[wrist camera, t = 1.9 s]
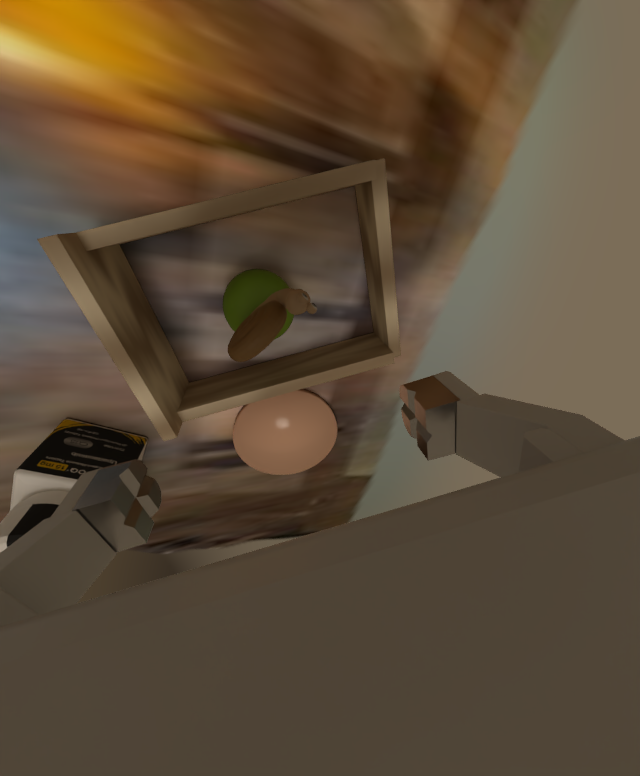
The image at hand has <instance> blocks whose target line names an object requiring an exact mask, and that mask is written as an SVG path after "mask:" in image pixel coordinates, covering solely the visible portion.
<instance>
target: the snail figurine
mask: <svg viewBox="0 0 640 776" xmlns="http://www.w3.org/2000/svg"><path fill="white" fill-rule="evenodd" d="M306 310H307V311H308V312H309V313H310V314H314V313H315V312H316V311H317V307H316V305H315V304H314V303H310V297H309V295H308V293H307V292H305V291H303V290H301V289H296V290H295V289H291V288H289V286H288V285H287V284H286V282H285V281H284V280H283V279H282V278H280V277H279V276H278V275H276V274H274V273H272V272H270V271H267V270H263V269H252V270H247V271H244V272H242V273H240V274H238V275H237V276H236V277H234V278H233V279H232V280H231V282H230V283H229V284H228V286H227V288H226V290H225V293H224V297H223V311H224V315H225V318H226V320H227V322H228V324H229V325H230V327H231V328H232V329H233V330H234V331H235V333H234V334H233V337H232V338H231V340H230V342H229V345H228V354H229V356H230V357H231V358H232V359H233V360H235V361H238V362H244V361H247V360H250V359H252V358H253V357H255V356H256V355H258V354H259V353H260V352H261V351H263V350H264V349H265V348H266V347H267V346H268V345H269V344H270V343H271V342H272V341H273V340H274V339H276V338H278V337H280V336H281V335H282V334H284V333H285V332H286V330H287V329H288V328H289V326H290V325H291V323H292V320H293V317H294V315H299V314H302V313H304V312H305V311H306Z"/></svg>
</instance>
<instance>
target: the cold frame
mask: <svg viewBox="0 0 640 776" xmlns="http://www.w3.org/2000/svg"><path fill="white" fill-rule="evenodd" d="M353 186H355V191H356V199H357V207H358V215H359V223H360V230H361V238H362V246H363V254H364V261H365V269H366V277H367V285H368V293H369V300H370V308H371V316H372V324H373V331H374V333H370V334H367V335H363V336H359V337H356V338H352V339H348V340H345V341H341V342H337V343H334V344H330V345H326V346H323V347H319V348H315V349H312V350H308V351H304V352H301V353H297V354H293V355H290V356H286V357H282V358H278V359H275V360H271V361H267V362H264V363H260V364H256V365H253V366H249V367H245V368H242V369H238V370H234V371H231V372H227V373H223V374H220V375H216V376H212V377H209V378H205V379H201V380H198V381H194V382H190V383H189V381H188V379H187V377H186V375H185V374H184V372H183V370H182V368H181V366H180V364H179V362H178V360H177V358H176V356H175V354H174V352H173V350H172V348H171V346H170V344H169V342H168V340H167V338H166V336H165V334H164V332H163V330H162V328H161V326H160V324H159V322H158V320H157V318H156V316H155V314H154V312H153V310H152V308H151V306H150V304H149V302H148V300H147V298H146V296H145V294H144V292H143V290H142V288H141V286H140V284H139V282H138V280H137V278H136V277H135V275H134V273H133V271H132V269H131V267H130V265H129V263H128V261H127V259H126V257H125V255H124V253H123V251H122V249H121V247H120V245H119V244H123V243H127V242H131V241H135V240H139V239H144V238H148V237H152V236H156V235H160V234H164V233H168V232H172V231H176V230H180V229H184V228H188V227H192V226H196V225H200V224H204V223H208V222H212V221H216V220H220V219H224V218H228V217H232V216H236V215H240V214H244V213H248V212H252V211H256V210H260V209H264V208H268V207H272V206H276V205H280V204H284V203H288V202H292V201H296V200H300V199H304V198H308V197H312V196H316V195H320V194H324V193H328V192H332V191H336V190H340V189H344V188H349V187H353ZM37 240H38V241H39V243H40V245H41V246H42V248H43V249H44V251H45V253H46V254H47V256H48V257H49V259H50V261H51V262H52V264H53V265H54V267H55V269H56V270H57V272H58V273H59V275H60V277H61V278H62V280H63V281H64V283H65V285H66V286H67V288H68V289H69V291H70V292H71V294H72V296H73V297H74V299H75V300H76V302H77V304H78V305H79V307H80V308H81V310H82V312H83V313H84V315H85V316H86V318H87V320H88V321H89V323H90V324H91V326H92V328H93V329H94V331H95V332H96V334H97V336H98V337H99V339H100V340H101V342H102V343H103V345H104V347H105V348H106V350H107V351H108V353H109V355H110V356H111V358H112V359H113V361H114V363H115V364H116V366H117V367H118V369H119V371H120V372H121V374H122V375H123V377H124V379H125V380H126V382H127V383H128V385H129V387H130V388H131V390H132V391H133V393H134V394H135V396H136V398H137V399H138V401H139V402H140V404H141V406H142V407H143V409H144V410H145V412H146V414H147V415H148V417H149V418H150V420H151V422H152V423H153V425H154V426H155V428H156V430H157V431H158V433H159V434H160V436H161V437H162V439H163V441H166V440H169V439H173V438H177V436H178V433H179V430H180V428H181V425H182V422H185V421H188V420H192V419H195V418H199V417H203V416H206V415H210V414H213V413H217V412H221V411H224V410H228V409H232V408H235V407H239V406H242V405H246V404H250V403H253V402H257V401H260V400H264V399H268V398H271V397H275V396H278V395H282V394H286V393H289V392H293V391H296V390H300V389H304V388H307V387H311V386H314V385H318V384H322V383H325V382H329V381H332V380H336V379H340V378H343V377H347V376H351V375H354V374H358V373H361V372H365V371H369V370H372V369H376V368H379V367H383V366H387V365H390V364H394V357H397V356H401V348H400V336H399V324H398V312H397V300H396V288H395V276H394V264H393V252H392V240H391V227H390V215H389V203H388V191H387V179H386V167H385V158H384V159H380V160H375V159H374V160H370V161H366V162H362V163H358V164H354V165H350V166H346V167H342V168H338V169H334V170H330V171H326V172H321V173H317V174H313V175H309V176H305V177H301V178H297V179H293V180H289V181H285V182H281V183H277V184H273V185H269V186H264V187H260V188H256V189H252V190H248V191H244V192H240V193H236V194H232V195H228V196H224V197H220V198H216V199H212V200H207V201H203V202H199V203H195V204H191V205H187V206H183V207H179V208H175V209H171V210H167V211H163V212H159V213H154V214H150V215H146V216H142V217H138V218H134V219H130V220H126V221H122V222H118V223H114V224H110V225H106V226H102V227H97V228H93V229H89V230H85V231H81V232H77V233H68V234H57V235H52V236H48V237H44V238H40V239H37Z"/></svg>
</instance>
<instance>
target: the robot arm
mask: <svg viewBox="0 0 640 776" xmlns="http://www.w3.org/2000/svg"><path fill="white" fill-rule="evenodd" d="M400 398H401V399H402V400H403V402H404V405H403V407H402V409H401V410H402V418H403V421H404V424H405V427H406V429H407V431H408V433H409V434H410V435H411V437H413V438H416V439H417V443H418V447H419V448H420V450H421V451H422V453H423V454H424V455H425V457H426V458H427V460H432V459H436V458H440V457H444V456H448V455H451V454H455V453H456V455H458V456H460V457H462V458H464V459H466V460H468V461H470V462H472V463H474V464H476V465H478V466H480V467H482V468H484V469H486V470H488V471H490V472H492V473H494V474H496V475H498V476H499V477H501V478H497V479H494V480H491V481H487V482H484V483H481V484H477V485H474V486H471V487H467V488H464V489H461V490H457V491H454V492H451V493H447V494H444V495H441V496H437V497H434V498H431V499H428V500H424V501H421V502H417V503H414V504H411V505H407V506H404V507H401V508H397V509H394V510H390V511H387V512H384V513H380V514H377V515H373V516H370V517H367V518H363V519H360V520H356V521H353V522H350V523H346V524H343V525H339V526H336V527H333V528H329V529H326V530H322V531H319V532H316V533H312V534H309V535H306V536H302V537H299V538H296V539H292V540H289V541H286V542H282V543H279V544H275V545H272V546H269V547H265V548H262V549H259V550H256V551H252V552H249V553H246V554H242V555H239V556H235V557H232V558H229V559H225V560H222V561H219V562H215V563H212V564H209V565H205V566H202V567H199V568H195V569H192V570H188V571H185V572H182V573H179V574H175V575H172V576H168V577H165V578H161V579H158V580H155V581H151V582H148V583H145V584H141V585H138V586H135V587H131V588H128V589H124V590H121V591H118V592H114V593H111V594H108V595H104V596H101V597H98V598H94V599H91V600H88V601H84V602H81V603H78V604H76V603H77V602H78V601H79V600H80V598H81V597H82V596H83V595H84V594H85V592H86V591H87V590H88V588H89V587H90V586H91V585H92V584H93V583H94V581H95V580H96V579H97V578H98V576H99V575H100V574H101V573H102V571H103V570H104V569H105V568H106V567H107V565H108V564H109V563H110V562H111V560H112V559H113V558H114V557H115V555H116V552H119V551H123V550H126V549H129V548H132V547H135V546H138V545H141V544H144V543H147V540H148V537H149V535H150V532H151V529H152V527H153V524H154V522H153V520H152V518H151V517H152V516H153V515H154V514H155V513H156V512H157V511H158V510H159V507H160V504H161V490H160V487H159V485H158V483H157V482H156V480H155V479H154V478H151V477H149V476H147V475H146V473H147V469H148V468H147V467H146V466H145V465H144V463H143V462H142V461H141V460H137V459H135V460H131V461H127V462H123V463H119V464H115V465H112V466H108V467H104V468H100V469H96V470H93V471H89V472H87V473H84V474H82V475H81V476H80V477H79V479H78V480H77V481H76V483H75V484H74V486H73V487H72V488H71V490H70V491H69V492H68V494H67V495H66V497H65V498H64V499H63V501H62V502H61V503H60V505H59V506H58V508H57V509H56V510H55V512H54V513H53V515H52V516H51V517H50V518H47V519H44V520H43V521H42V522H40V523H39V524H38V525H36V526H35V527H34V528H32V529H31V530H30V531H28V532H27V533H26V534H24V535H23V536H22V537H21V538H19V539H18V540H17V541H15V542H14V543H13V544H11V545H10V546H9V547H7V548H6V549H5V550H3V551H2V552H1V553H0V776H640V436H639V437H635V438H632V439H628V440H623V439H621V438H620V437H618V436H616V435H615V434H613V433H611V432H610V431H608V430H606V429H605V428H603V427H601V426H599V425H598V424H596V423H595V422H593V421H591V420H590V419H588V418H586V417H585V416H583V415H580V414H575V413H571V412H566V411H562V410H557V409H552V408H548V407H543V406H538V405H534V404H529V403H525V402H520V401H516V400H511V399H506V398H502V397H497V396H493V395H488V394H482V395H479V394H478V393H476V392H475V391H474V390H472V389H471V388H470V387H468V386H467V385H466V384H465V383H463V382H462V381H461V380H460V379H458V378H457V377H456V376H454V375H453V374H452V373H451V372H448V371H445V372H442V373H439V374H436V375H432V376H430V377H427V378H423V379H420V380H417V381H413V382H410V383H407V384H404V385H400Z"/></svg>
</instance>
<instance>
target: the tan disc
mask: <svg viewBox="0 0 640 776" xmlns="http://www.w3.org/2000/svg"><path fill="white" fill-rule="evenodd" d="M336 436H337V423H336V419H335V416H334V414H333V411H332V410H331V408H330V406H329V405H328V404H327V402H326V401H325V400H324V399H322V398H321V397H320V396H318V395H317V394H315V393H313V392H311V391H308V390H305V389H300V390H296V391H293V392H289V393H286V394H282V395H278V396H275V397H271V398H268V399H264V400H260V401H257V402H253V403H250V404H246V405H244V407H243V408H242V409H241V410H240V412H239V413H238V415H237V417H236V420H235V423H234V429H233V442H234V446H235V449H236V451H237V453H238V455H239V456H240V457H241V459H242V460H243V461H244V462H245V463H246V464H248V465H249V466H251V467H252V468H254V469H256V470H258V471H261V472H264V473H268V474H274V475H288V474H294V473H298V472H302V471H304V470H307V469H309V468H311V467H313V466H315V465H316V464H318V463H319V462H320V461H322V460H323V459H324V458H325V457H326V456H327V454H328V453H329V452H330V450H331V449H332V447H333V445H334V443H335V440H336Z"/></svg>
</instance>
